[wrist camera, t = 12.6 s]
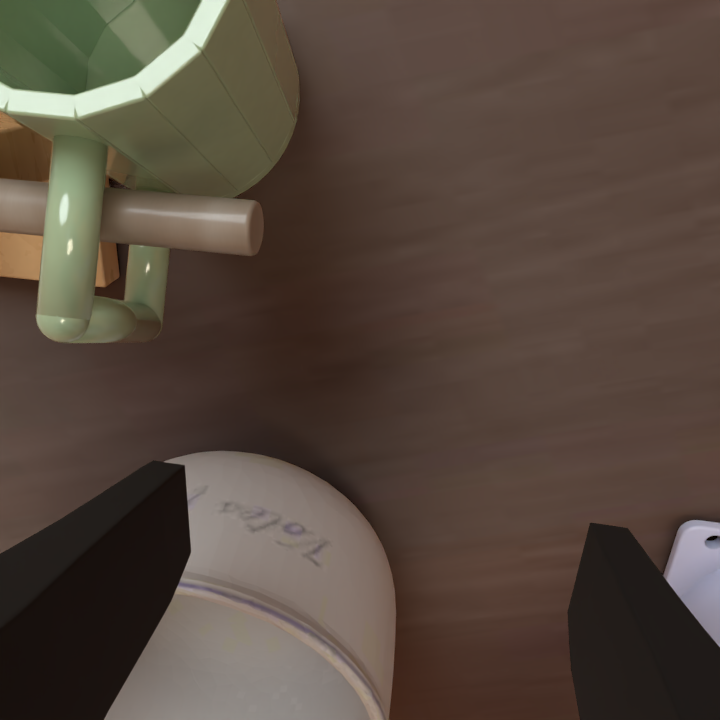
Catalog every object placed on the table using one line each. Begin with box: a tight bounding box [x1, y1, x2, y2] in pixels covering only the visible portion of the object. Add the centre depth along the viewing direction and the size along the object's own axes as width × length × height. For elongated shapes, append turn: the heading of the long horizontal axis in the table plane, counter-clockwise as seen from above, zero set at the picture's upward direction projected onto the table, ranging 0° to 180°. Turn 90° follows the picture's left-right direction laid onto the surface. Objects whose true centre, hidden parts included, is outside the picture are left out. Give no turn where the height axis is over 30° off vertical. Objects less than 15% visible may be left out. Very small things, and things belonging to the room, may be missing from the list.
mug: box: [0, 0, 300, 343], centre depth 14 cm, size 9×6×7 cm, turn 177°
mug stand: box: [0, 114, 264, 287], centre depth 16 cm, size 12×6×8 cm, turn 87°
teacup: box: [104, 451, 396, 720], centre depth 22 cm, size 14×11×8 cm
